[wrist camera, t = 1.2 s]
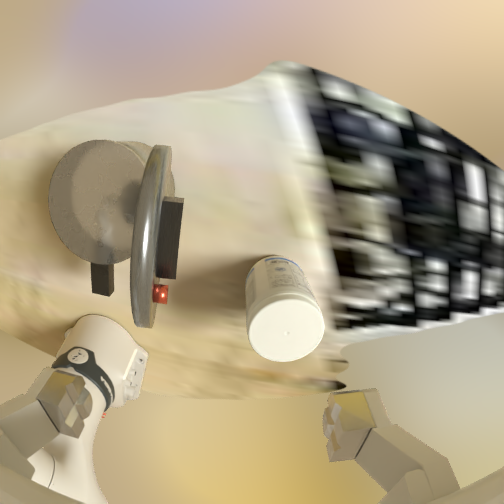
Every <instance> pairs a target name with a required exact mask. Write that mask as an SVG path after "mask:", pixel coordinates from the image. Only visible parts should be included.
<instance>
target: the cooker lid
mask: <svg viewBox="0 0 504 504" xmlns="http://www.w3.org/2000/svg"><path fill="white" fill-rule="evenodd" d="M171 158H172V150H171V146H164V145H155V146H154V147H153V148H152V150H151V152H150V155H149V157H148V160H147V163H146V166H145V169H144V173H143V177H142V181H141V185H140V190H139V195H138V200H137V206H136V212H135V219H134V226H133V235H132V246H131V263H130V293H131V307H132V314H133V319H134V323H135V325H136V326H137V327H143V328H152V327H153V324H154V319H155V313H156V306H157V303H162V304H167V297H168V285H161V284H159V281H160V278H166V279H176V269H177V258H178V248H179V238H180V229H181V220H182V211H183V203H184V198H177V197H168V195H169V185H170V174H171Z"/></svg>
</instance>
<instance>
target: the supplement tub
mask: <svg viewBox="0 0 504 504" xmlns="http://www.w3.org/2000/svg"><path fill="white" fill-rule="evenodd" d="M245 289H246V327H247V334H248V338H249V342H250V344H251V346H252V348H253V349H254V350H255V351H256V352H257V353H258V354H259V355H260V356H262V357H264V358H266V359H269V360H272V361H278V362H288V361H293V360H297V359H300V358H302V357H304V356H306V355H307V354H309V353H310V352H312V351H313V350H314V349H315V348H316V347H317V345H318V344H319V343H320V341H321V339H322V336H323V333H324V321H323V317H322V313H321V310H320V308H319V305H318V303H317V301H316V299H315V296H314V294H313V292H312V290H311V288H310V286H309V283H308V281H307V279H306V277H305V275H304V273H303V271H302V269H301V268H300V266H299V265H298V264H297V263H296V262H295V261H293V260H291V259H289V258H287V257H284V256H270V257H266V258H264V259H261V260H260V261H258V262H257V263H256V264H255V265H254V266H253V267H252V268H251V269H250V271H249V273H248V275H247V278H246V286H245Z"/></svg>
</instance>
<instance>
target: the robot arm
mask: <svg viewBox="0 0 504 504" xmlns="http://www.w3.org/2000/svg"><path fill="white" fill-rule="evenodd" d="M64 336H65V341H64V342H63V344H62V346H61V348H60V349H59V351H58V353H57V355H56V359H57V360H56V361H55V362H54V363H53V364H52V367H51V368H50V367H46V368H44V369H43V370H42V372H41V373H40V375H39V376H38V377H37V379H36V380H35V381H34V383H33V384H32V386H31V387H30V389H29V390H28V391H27V393H26V394H25V395H23V394H21V395H19V396H17V397H15V398H13V399H11V400H9V401H7V402H5V403H3V404H2V405H0V504H109V503H108V501H107V499H106V498H105V497H104V495H103V493H102V491H101V489H100V487H99V485H98V482H97V479H96V476H95V471H94V465H93V456H92V455H93V442H94V437H95V434H96V430H97V428H98V425H99V422H100V420H101V417H102V418H104V417H103V416H102V415H106V414H105V413H104V412H105V411H106V410H107V409H108V408H109V407H115V408H116V407H122V406H123V405H124V404H125V402H126V400H133V399H137V398H138V397H139V395H140V391H141V387H142V382H143V377H144V373H145V369H146V364H147V360H148V353H147V352H146V351H145V350H144V349H143V348H142V347H140V346H139V345H138V344H136V343H135V341H134V340H133V339H132V337H131V336H130V335H129V333H128V332H127V331H126V330H125V329H124V328H123V327H122V326H120V325H119V324H118V323H116V322H115V321H113V320H111V319H109V318H107V317H104V316H100V315H87V316H84V317H82V318H80V319H79V320H78V321H77V323H76V324H75V326H74V327H73V328H70V329H68V330H67V331H66V332H65V335H64ZM141 359H142V360H141ZM327 401H328V407H327V408H326V409H325V410H324V415H323V431H324V435H325V436H326V437H327V438H328V439H329V440H328V443H327V451H328V456H329V461H330V462H334V461H344V460H352V459H355V461H356V462H357V463H358V464H359V465H360V466H361V467H362V468H363V469H364V470H365V471H366V472H367V473H368V474H369V475H370V476H371V477H372V478H373V479H374V480H375V481H376V482H377V483H378V484H379V485H380V486H381V487H382V488H383V489H384V490H386V491H387V492H388V493H387V495H386V496H385V497H384V498H383V499H382V500H381V501H380V502H379V503H378V504H504V467H502V468H501V469H499V470H497V471H495V472H493V473H492V474H490V475H488V476H486V477H485V478H482V479H480V480H478V481H476V482H474V483H472V484H470V485H468V486H466V487H464V488H462V489H460V487H459V484H458V482H457V480H456V477H455V475H454V473H453V471H452V468H451V466H450V463H449V461H448V459H447V458H446V457H444V456H443V455H441V454H439V453H438V452H437V451H435V450H434V449H432V448H430V447H429V446H427V445H425V444H424V443H423V442H421V441H420V440H419V439H417V438H416V437H414V436H413V435H411V434H410V433H408V432H406V431H405V430H404V429H402V428H401V427H399V426H398V425H397V424H394V425H392V424H391V421H390V418H389V416H388V414H387V411H386V409H385V406H384V404H383V402H382V399H381V397H380V395H379V392H378V390H377V389H376V388H372V389H364V390H353V391H344V392H334V393H330V395H329V397H328V400H327ZM42 447H44V449H43V448H42Z"/></svg>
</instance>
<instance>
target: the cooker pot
mask: <svg viewBox="0 0 504 504" xmlns="http://www.w3.org/2000/svg"><path fill="white" fill-rule="evenodd" d="M151 150H152V147H150V146H148V145H146V144H143V143H140V142H115V141H110V140H92V141H87V142H84V143H82V144H79V145H78V146H76V147H74V148H73V149H71V150H70V151H69V152H68V153H67V154H66V155H65V156H64V157H63V158H62V159H61V161H60V162H59V163H58V165H57V167H56V169H55V171H54V173H53V175H52V178H51V182H50V187H49V195H48V203H49V212H50V216H51V220H52V223H53V226H54V228H55V230H56V232H57V234H58V236H59V237H60V239H61V240H62V242H63V243H64V244H65V245H66V247H68V248H69V249H70V250H71V251H72V252H73V253H74V254H76V255H77V256H79V257H80V258H82V259H84V260H86V261H89V262H91V281H92V293H96V294H100V295H104V296H109V297H110V295H111V294H112V293H113V292H114V264H115V263H119V262H122V261H124V260H126V259H128V258H130V257H131V246H132V235H133V226H134V219H135V212H136V206H137V200H138V195H139V190H140V185H141V181H142V177H143V173H144V169H145V166H146V163H147V160H148V157H149V155H150V152H151ZM174 193H175V186H174V179H173V175H172V172H171V174H170V185H169V195H168V197H174Z"/></svg>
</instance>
